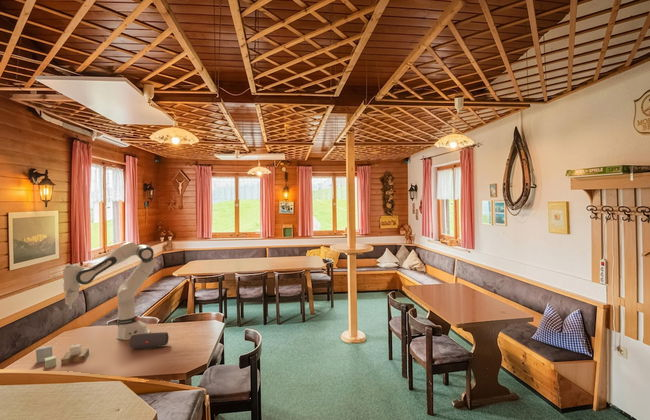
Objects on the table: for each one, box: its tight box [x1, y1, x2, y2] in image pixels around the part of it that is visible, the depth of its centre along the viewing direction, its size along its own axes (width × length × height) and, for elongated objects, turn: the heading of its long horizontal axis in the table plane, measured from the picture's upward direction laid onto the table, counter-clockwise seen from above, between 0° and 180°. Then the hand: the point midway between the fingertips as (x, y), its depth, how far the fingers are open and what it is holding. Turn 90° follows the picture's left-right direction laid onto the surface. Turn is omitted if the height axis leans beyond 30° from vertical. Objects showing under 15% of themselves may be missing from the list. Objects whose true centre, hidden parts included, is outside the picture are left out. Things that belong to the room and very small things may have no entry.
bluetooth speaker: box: [129, 331, 170, 350], centre depth 229 cm, size 23×9×10 cm, turn 99°
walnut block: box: [60, 348, 90, 366], centre depth 215 cm, size 12×12×4 cm
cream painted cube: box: [69, 343, 82, 356], centre depth 215 cm, size 5×5×5 cm
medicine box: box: [35, 344, 54, 364], centre depth 214 cm, size 8×4×9 cm, turn 129°
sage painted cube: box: [44, 355, 57, 369], centre depth 206 cm, size 5×5×5 cm
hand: (72, 307), depth 232 cm, fingers open, 8 cm apart
